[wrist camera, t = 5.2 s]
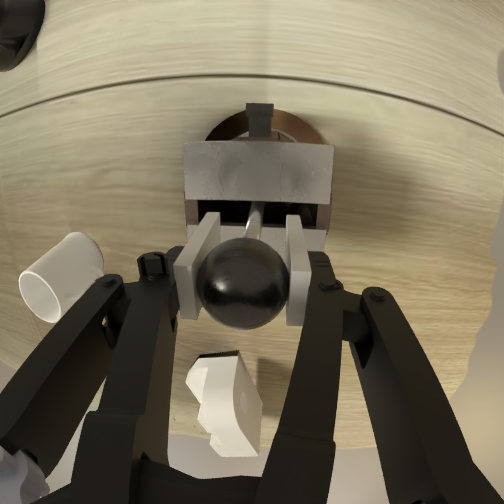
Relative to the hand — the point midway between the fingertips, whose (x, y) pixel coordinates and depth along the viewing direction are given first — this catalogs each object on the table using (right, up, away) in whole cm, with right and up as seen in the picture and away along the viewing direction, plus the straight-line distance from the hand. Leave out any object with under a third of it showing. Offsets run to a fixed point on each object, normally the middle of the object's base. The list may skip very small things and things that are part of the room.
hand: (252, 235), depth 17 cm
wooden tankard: (+1, +9, +15) cm, 17 cm away
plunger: (+1, +6, +12) cm, 14 cm away
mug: (-25, -2, +23) cm, 34 cm away
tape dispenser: (-5, -25, +33) cm, 42 cm away
